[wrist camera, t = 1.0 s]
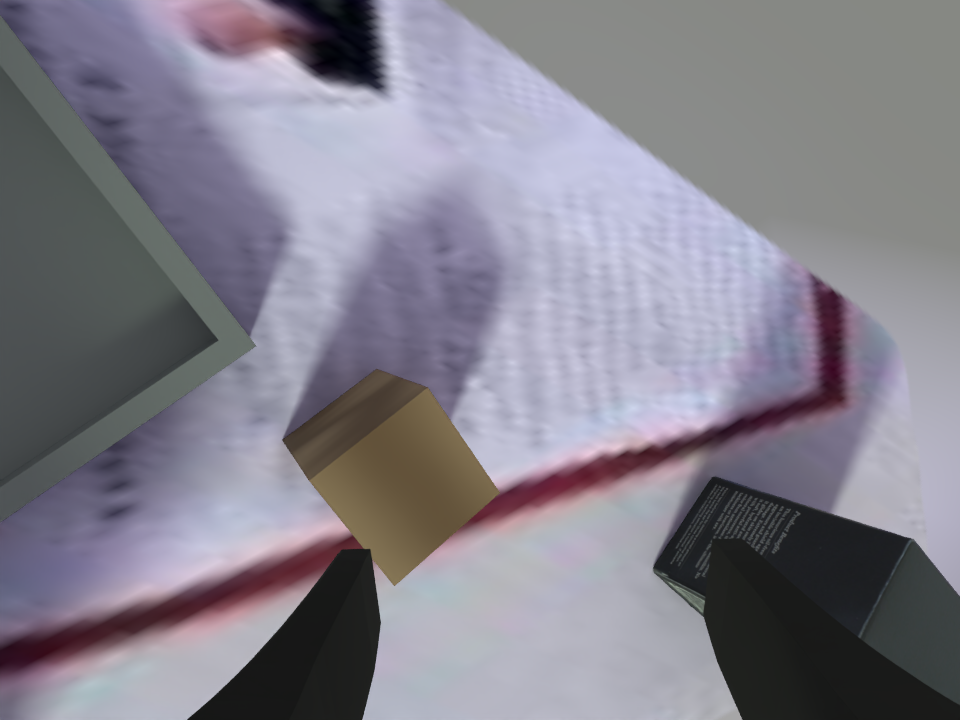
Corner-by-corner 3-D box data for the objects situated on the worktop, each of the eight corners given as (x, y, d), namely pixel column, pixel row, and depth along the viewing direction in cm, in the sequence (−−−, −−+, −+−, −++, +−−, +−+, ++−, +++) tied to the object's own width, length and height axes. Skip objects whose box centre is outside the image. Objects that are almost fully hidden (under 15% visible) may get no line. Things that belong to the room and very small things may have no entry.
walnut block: (350, 525, 25) (394, 586, 20) (281, 439, 24) (309, 480, 18) (436, 453, 27) (499, 492, 21) (376, 368, 25) (427, 387, 20)
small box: (811, 568, 37) (1023, 660, 28) (755, 664, 36) (958, 795, 26) (714, 467, 33) (923, 533, 24) (647, 570, 32) (840, 684, 22)
